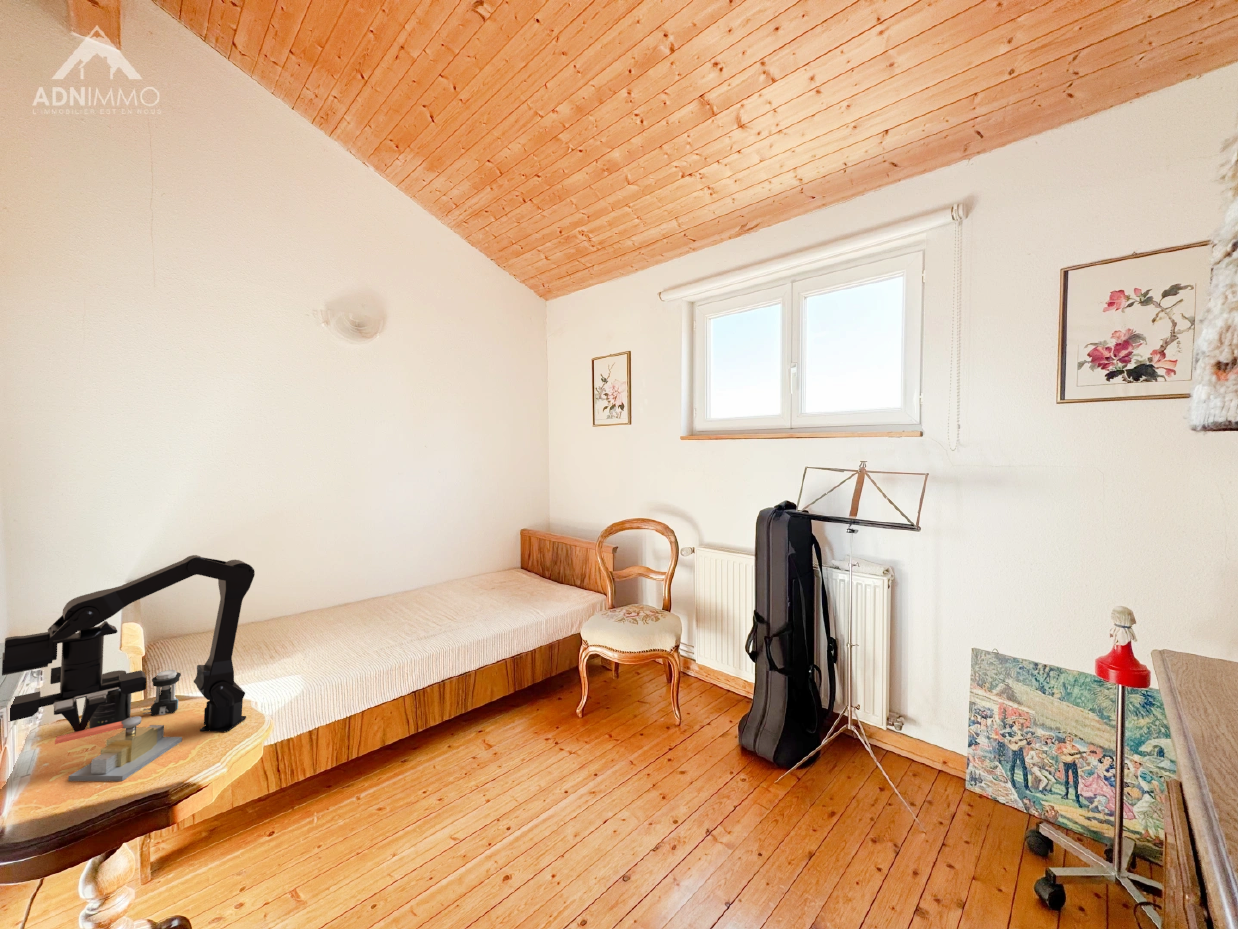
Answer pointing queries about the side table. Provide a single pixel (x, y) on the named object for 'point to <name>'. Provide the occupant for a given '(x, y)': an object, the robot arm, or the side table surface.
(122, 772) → the board
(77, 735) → the lever
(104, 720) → the supplement bottle
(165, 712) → the push button
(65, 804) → the side table surface
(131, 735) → the valve
